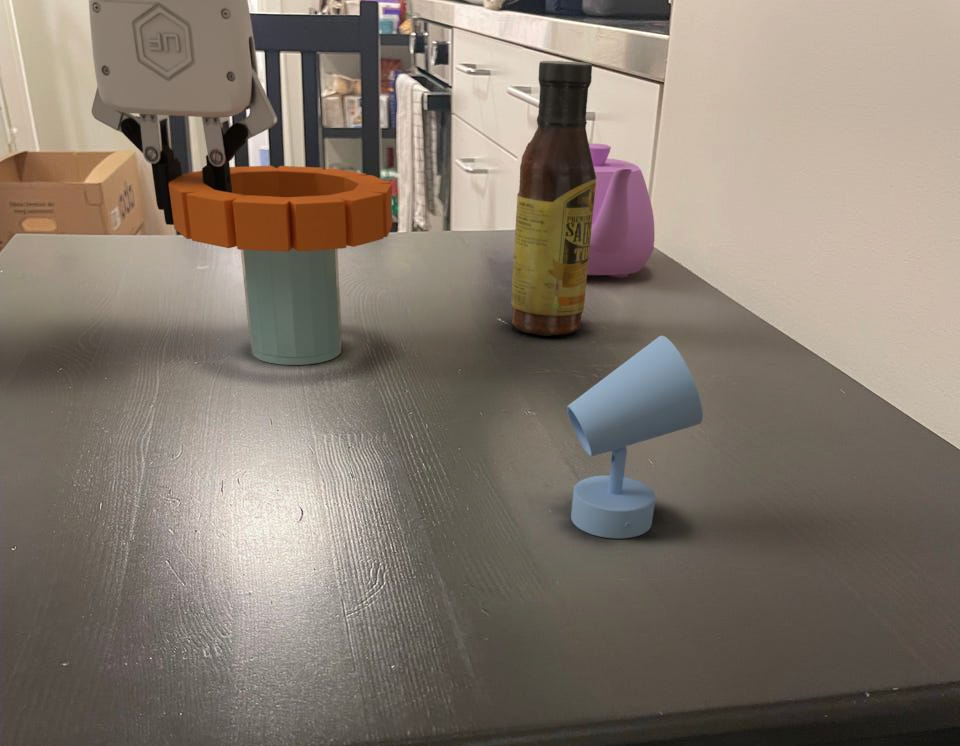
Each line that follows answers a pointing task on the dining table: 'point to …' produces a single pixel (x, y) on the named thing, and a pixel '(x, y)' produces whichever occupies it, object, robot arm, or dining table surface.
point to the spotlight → (629, 435)
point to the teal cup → (293, 305)
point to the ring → (283, 209)
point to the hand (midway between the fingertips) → (197, 219)
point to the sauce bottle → (555, 207)
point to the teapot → (619, 217)
